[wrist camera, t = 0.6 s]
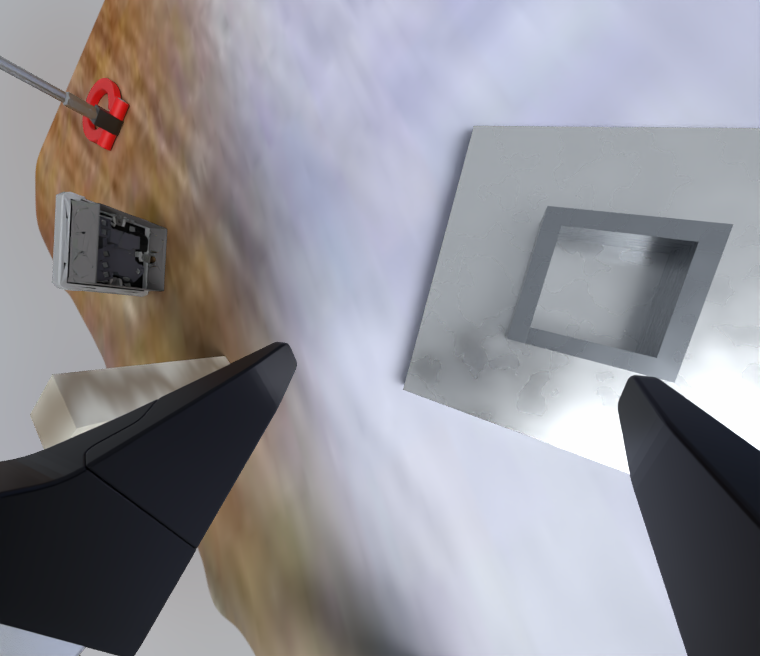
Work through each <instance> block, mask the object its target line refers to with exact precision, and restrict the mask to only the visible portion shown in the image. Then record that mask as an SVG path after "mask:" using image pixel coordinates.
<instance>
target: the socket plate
mask: <svg viewBox="0 0 760 656" xmlns="http://www.w3.org/2000/svg"><path fill="white" fill-rule="evenodd" d="M633 375H640V376H651V377H656V378H658V379H660V380H662V381H663V382H664V383H666V384H667V385H669V386H670V387H672V388H673V389H674V390H676V391H677V392H679V393H680V394H681V395H683V396H684V397H686V398H687V399H688V400H690V401H691V402H693V403H694V404H695V405H697V406H698V407H700V408H701V409H702V410H704V411H705V412H707V413H708V414H710V415H711V416H712V417H714V418H715V419H717V420H718V421H719V422H721V423H722V424H724V425H725V426H726V427H728V428H729V429H731V430H732V431H733V432H735V433H736V434H738V435H739V436H741V437H742V438H743V439H745V440H746V441H748V442H749V443H750V444H752V445H753V446H755V447H756V448H757V449H759V450H760V128H659V127H537V126H474V127H473V131H472V135H471V138H470V142H469V146H468V150H467V153H466V157H465V161H464V165H463V168H462V172H461V176H460V179H459V183H458V187H457V191H456V194H455V198H454V202H453V206H452V209H451V213H450V217H449V220H448V224H447V228H446V232H445V235H444V239H443V243H442V247H441V250H440V254H439V258H438V261H437V265H436V269H435V273H434V276H433V280H432V284H431V288H430V291H429V295H428V299H427V302H426V306H425V310H424V314H423V317H422V321H421V325H420V329H419V332H418V336H417V340H416V343H415V347H414V351H413V355H412V358H411V362H410V366H409V370H408V373H407V377H406V381H405V384H404V388H403V390H405V391H408V392H411V393H413V394H416V395H419V396H421V397H424V398H427V399H430V400H432V401H435V402H438V403H440V404H443V405H446V406H448V407H451V408H454V409H457V410H459V411H462V412H465V413H467V414H470V415H473V416H475V417H478V418H481V419H484V420H486V421H489V422H492V423H494V424H497V425H500V426H502V427H505V428H508V429H511V430H513V431H516V432H519V433H521V434H524V435H527V436H529V437H532V438H535V439H538V440H540V441H543V442H546V443H548V444H551V445H554V446H556V447H559V448H562V449H564V450H567V451H570V452H573V453H575V454H578V455H581V456H583V457H586V458H589V459H591V460H594V461H597V462H600V463H602V464H605V465H608V466H610V467H613V468H616V469H618V470H621V471H624V472H627V473H629V468H628V463H627V458H626V452H625V447H624V442H623V436H622V431H621V426H620V420H619V415H618V401H619V398H620V396H621V394H622V391H623V389H624V387H625V384H626V382H627V380H628V378H629V377H630V376H633ZM629 474H630V473H629Z"/></svg>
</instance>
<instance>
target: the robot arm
mask: <svg viewBox="0 0 760 656" xmlns="http://www.w3.org/2000/svg"><path fill="white" fill-rule="evenodd" d="M296 367H297V362H296V359H295V357H294V354H293V352H292V350H291V348H290V346H289V345H288V344H287V343H283V342H275V343H272V344H270V345H268V346H266V347H264V348H262V349H260V350H258V351H256V352H254V353H252V354H250V355H248V356H245V357H243V358H241V359H239V360H237V361H235V362H233V363H231V364H229V365H227V366H225V367H223V368H221V369H218V370H216V371H214V372H212V373H210V374H208V375H206V376H204V377H202V378H200V379H198V380H196V381H194V382H191V383H189V384H187V385H185V386H183V387H181V388H179V389H177V390H175V391H173V392H171V393H169V394H167V395H164V396H162V397H160V398H159V399H156V400H154V401H152V402H150V403H148V404H146V405H144V406H141V407H139V408H137V409H135V410H133V411H131V412H129V413H126V414H124V415H122V416H120V417H118V418H115V419H113V420H111V421H109V422H106V423H104V424H102V425H100V426H97V427H95V428H93V429H91V430H88V431H86V432H84V433H81V434H79V435H77V436H74V437H72V438H70V439H67V440H65V441H63V442H61V443H58V444H56V445H54V446H51V447H49V448H47V449H44V450H42V451H39V452H37V453H34V454H31V455H28V456H25V457H21V458H17V459H13V460H7V461H1V462H0V656H80V654H81V653H82V651H83V650H84V649H85V648H86V647H88V648H92V649H96V650H99V651H103V652H106V653H110V654H114V655H118V656H134V655H135V654H136V652H137V651H138V649H139V648H140V646H141V644H142V643H143V641H144V639H145V638H146V636H147V634H148V633H149V631H150V629H151V627H152V626H153V624H154V622H155V620H156V619H157V617H158V615H159V613H160V612H161V610H162V608H163V607H164V605H165V603H166V601H167V599H168V598H169V596H170V594H171V593H172V591H173V589H174V587H175V586H176V584H177V582H178V581H179V579H180V577H181V575H182V574H183V572H184V570H185V568H186V567H187V565H188V563H189V562H190V560H191V558H192V556H193V555H194V553H195V551H196V548H197V547H198V545H199V544H200V542H201V540H202V539H203V537H204V535H205V533H206V532H207V530H208V528H209V526H210V525H211V523H212V521H213V520H214V518H215V516H216V514H217V513H218V511H219V509H220V507H221V506H222V504H223V502H224V501H225V499H226V497H227V495H228V494H229V492H230V490H231V488H232V487H233V485H234V483H235V482H236V480H237V478H238V476H239V475H240V473H241V471H242V469H243V468H244V466H245V464H246V462H247V461H248V459H249V457H250V456H251V454H252V452H253V450H254V449H255V447H256V445H257V443H258V442H259V440H260V438H261V437H262V435H263V433H264V431H265V430H266V428H267V426H268V424H269V423H270V421H271V419H272V418H273V416H274V414H275V412H276V410H277V409H278V407H279V405H280V403H281V400H282V398H283V396H284V394H285V392H286V390H287V387H288V385H289V383H290V381H291V379H292V376H293V374H294V372H295V370H296ZM618 415H619V420H620V426H621V431H622V436H623V442H624V447H625V452H626V458H627V463H628V468H629V473H630V478H631V481H632V485H633V488H634V492H635V495H636V498H637V501H638V504H639V507H640V510H641V513H642V516H643V520H644V523H645V526H646V529H647V532H648V535H649V538H650V541H651V544H652V547H653V550H654V554H655V557H656V560H657V563H658V566H659V569H660V572H661V575H662V578H663V581H664V585H665V588H666V591H667V594H668V597H669V600H670V603H671V606H672V609H673V612H674V615H675V619H676V622H677V625H678V628H679V631H680V634H681V637H682V640H683V643H684V646H685V649H686V653H687V656H760V450H759V449H757V448H756V447H755V446H753V445H752V444H750V443H749V442H748V441H746V440H745V439H743V438H742V437H741V436H739V435H738V434H736V433H735V432H733V431H732V430H731V429H729V428H728V427H726V426H725V425H724V424H722V423H721V422H719V421H718V420H717V419H715V418H714V417H712V416H711V415H710V414H708V413H707V412H705V411H704V410H702V409H701V408H700V407H698V406H697V405H695V404H694V403H693V402H691V401H690V400H688V399H687V398H686V397H684V396H683V395H681V394H680V393H679V392H677V391H676V390H674V389H673V388H672V387H670V386H669V385H667V384H666V383H664V382H663V381H662V380H660V379H658V378H656V377H651V376H640V375H633V376H630V377H629V378H628V380H627V382H626V384H625V387H624V389H623V391H622V394H621V396H620V398H619V401H618Z"/></svg>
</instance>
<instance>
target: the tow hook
mask: <svg viewBox="0 0 760 656" xmlns="http://www.w3.org/2000/svg"><path fill="white" fill-rule="evenodd" d="M0 69H1V70H3V71H5V72H7V73H9V74H10V75H12V76H14V77H16V78H18V79H20V80H22V81H23V82H25V83H27V84H29V85H31V86H33V87H35V88H37V89H39V90H40V91H42V92H44V93H46V94H48V95H50V96H52V97H53V98H55V99H57V100H59V101H61V102H63V104H64V105H65V106H66V107H68V108H70V109H72V110H74V111H76V112H77V113H79V114H81V115H83V129H84V133H85V135H86V137H87V138H88V139H89V140H90V141H92V142H94V143H97V144H98V145H100V146H101V147H103V148H105V149H107V150H111V148H112V146H113V143H114V141H115V138H116V136H118V134H119V132H120V129H121V127H122V124H123V119H124V117H125V114H126V112H127V109H128V107H129V104H128V103H126V102H125V101H124V100H122V99H121V95H120V90H119V88H118V86H117V84H115V83H114V82H113V81H111V80H110V79H108V78H102V79H100V80H98V81H97V82H96V83H95V84H94V86H93V87H92V88H91V90H90V92H89V94H88V97H87V99H86V101H84V100H82V99H80V98H79V97H77V96H75V95H73V94H71V93H70V92H64V91H62V90H60V89H58V88H57V87H55V86H53V85H51V84H49V83H48V82H46V81H44V80H42V79H41V78H39V77H37V76H35V75H33V74H32V73H30V72H28V71H26V70H25V69H23V68H21V67H19V66H17V65H16V64H14V63H12V62H10V61H9V60H7V59H5V58H3V57H1V56H0ZM106 93H108V100H109V104H108V109H109V110H110V111H107V110H105V109H103V108H102V107H100V106H98V103H99V101H100V99H101V98H102V96H103V95H105V94H106ZM95 125H96V126H98V127H99V128H98V129H97V130H96V129H95Z"/></svg>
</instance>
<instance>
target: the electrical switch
mask: <svg viewBox="0 0 760 656" xmlns="http://www.w3.org/2000/svg"><path fill="white" fill-rule="evenodd" d="M155 235H157V236H155ZM162 240H163V241H162ZM166 242H167V229H166V228H164V227H161V226H158V225H156V224H153V223H151V222H149V221H146V220H144V219H141V218H137V217H135V216H132V215H130V214H127V213H124V212H122V211H119V210H116V209H114V208H111V207H109V206H106V205H103V204H101V203H95V202H92V201H90V200H87V199H85V197H83V196H80V195H78V194H75V193H73V192H62V193H60V194H57V195H56V210H55V232H54V254H53V277H52V283H53V284H54V285H55V286H56V287H57V288H59V289H65V290H72V291H90V292H101V293H111V294H122V295H132V296H140V297H141V296H146V295H148V291H164V276H165V259H166ZM161 249H162V250H161ZM151 251H154V252H158V253H153V252H151ZM151 256H154V257H155V259H156V261H155V262H154V263H150V258H151ZM152 266H156V267H152Z"/></svg>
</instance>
